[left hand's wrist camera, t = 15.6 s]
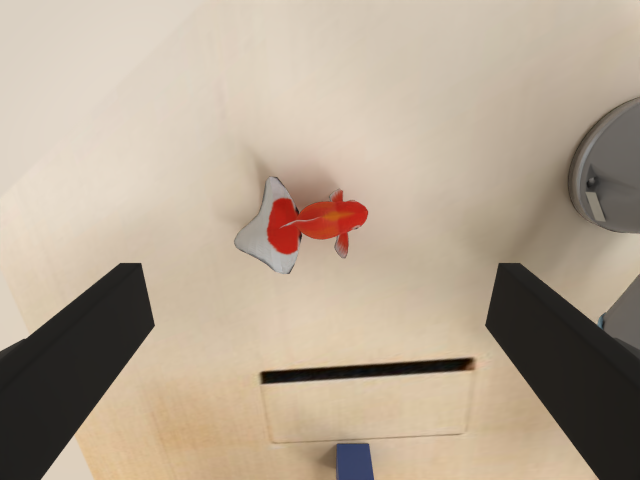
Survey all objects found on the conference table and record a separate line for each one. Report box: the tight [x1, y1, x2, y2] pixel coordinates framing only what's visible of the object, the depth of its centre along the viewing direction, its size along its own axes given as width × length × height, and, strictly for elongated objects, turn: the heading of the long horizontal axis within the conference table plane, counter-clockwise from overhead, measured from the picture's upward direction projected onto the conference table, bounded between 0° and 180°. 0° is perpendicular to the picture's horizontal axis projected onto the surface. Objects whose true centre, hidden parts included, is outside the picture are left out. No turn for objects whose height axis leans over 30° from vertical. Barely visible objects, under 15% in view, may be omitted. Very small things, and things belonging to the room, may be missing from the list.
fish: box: [234, 177, 368, 274], centre depth 38 cm, size 11×16×10 cm
